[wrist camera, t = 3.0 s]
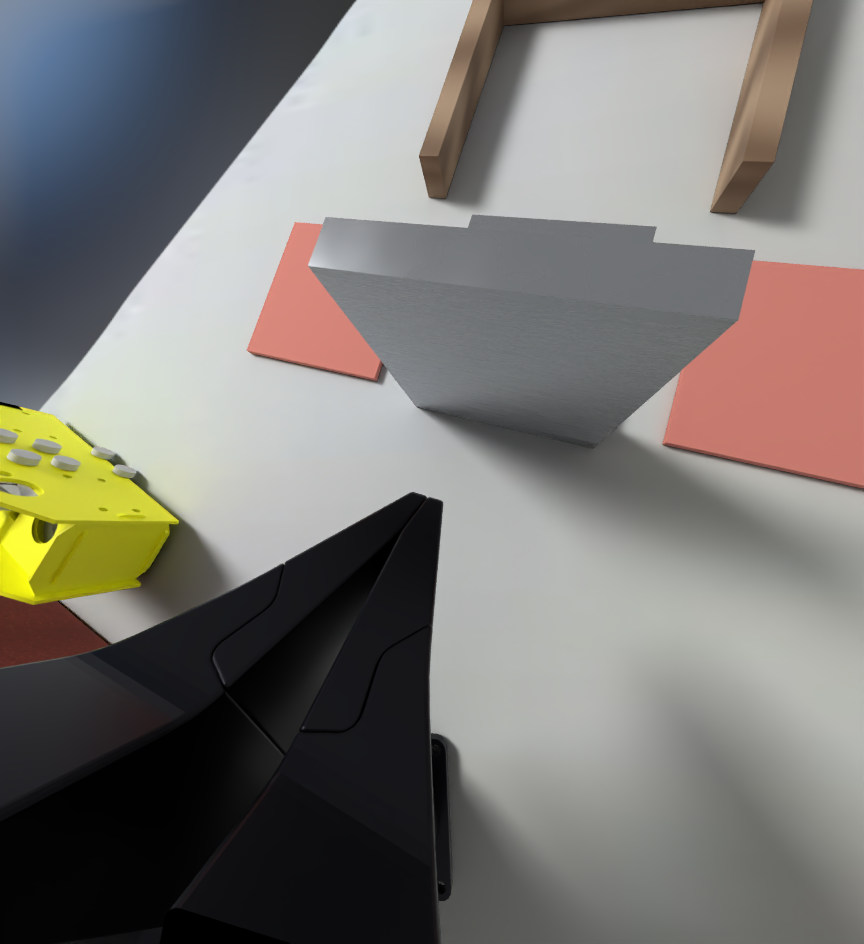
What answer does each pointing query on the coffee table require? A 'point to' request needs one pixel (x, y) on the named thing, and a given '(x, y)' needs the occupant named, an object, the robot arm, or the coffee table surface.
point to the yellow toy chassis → (69, 514)
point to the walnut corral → (533, 3)
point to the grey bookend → (530, 314)
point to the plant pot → (41, 633)
